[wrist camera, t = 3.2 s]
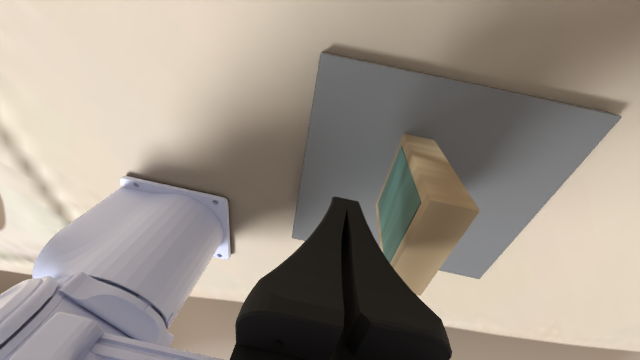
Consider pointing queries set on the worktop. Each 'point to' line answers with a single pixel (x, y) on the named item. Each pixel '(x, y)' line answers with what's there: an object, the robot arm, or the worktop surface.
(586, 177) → the worktop surface
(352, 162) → the mat
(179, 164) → the worktop surface
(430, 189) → the wooden block
